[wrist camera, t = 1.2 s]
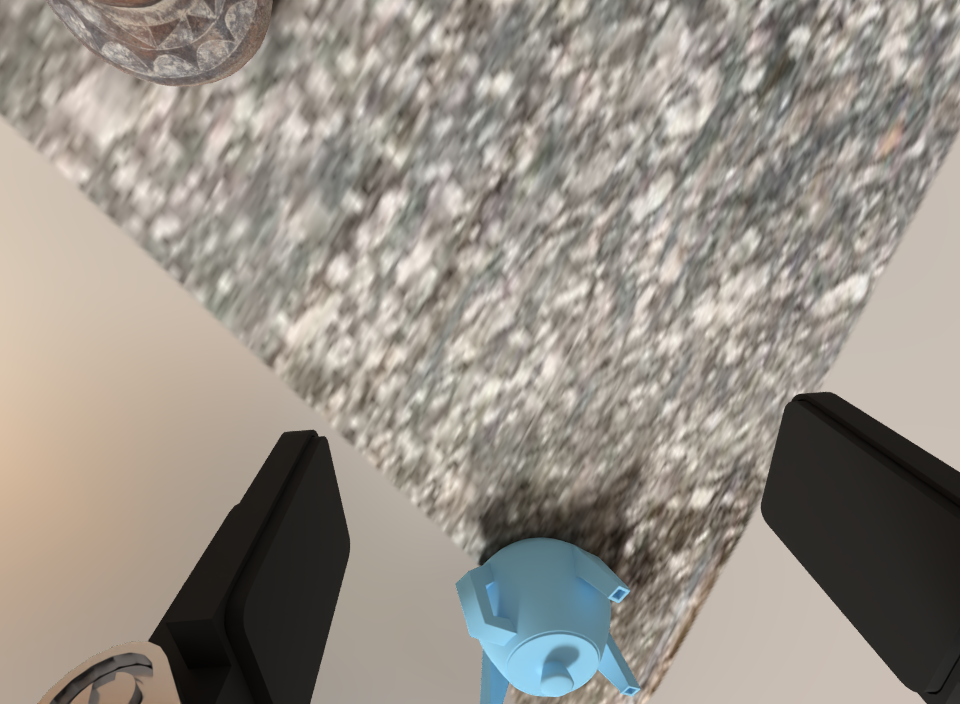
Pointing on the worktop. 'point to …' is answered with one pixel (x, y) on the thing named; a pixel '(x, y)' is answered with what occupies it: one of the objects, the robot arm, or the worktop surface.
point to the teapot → (544, 619)
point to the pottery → (169, 35)
